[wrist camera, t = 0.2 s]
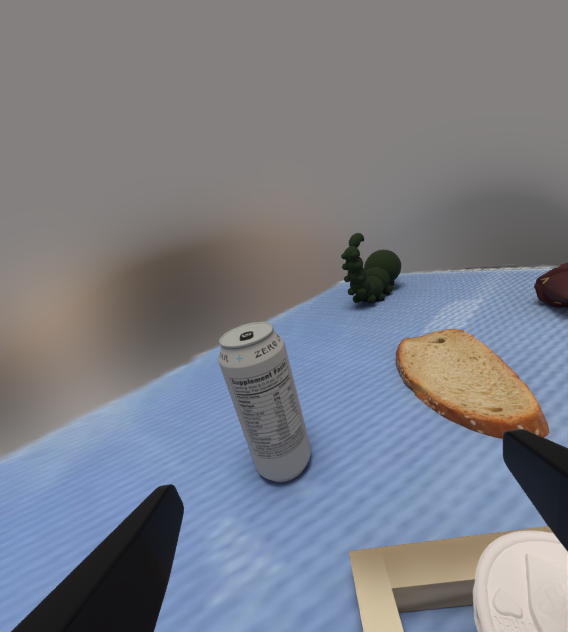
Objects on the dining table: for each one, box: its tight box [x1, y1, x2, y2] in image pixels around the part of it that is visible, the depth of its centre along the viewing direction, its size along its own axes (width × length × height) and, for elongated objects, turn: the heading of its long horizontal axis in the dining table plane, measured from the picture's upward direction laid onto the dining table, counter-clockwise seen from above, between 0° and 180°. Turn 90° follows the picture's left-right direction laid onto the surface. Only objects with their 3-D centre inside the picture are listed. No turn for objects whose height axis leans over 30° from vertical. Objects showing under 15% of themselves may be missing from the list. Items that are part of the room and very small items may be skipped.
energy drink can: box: [219, 322, 311, 482], centre depth 25 cm, size 6×6×15 cm
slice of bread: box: [396, 329, 549, 439], centre depth 34 cm, size 18×18×4 cm
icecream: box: [534, 263, 568, 307], centre depth 43 cm, size 7×7×15 cm
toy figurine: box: [341, 233, 401, 303], centre depth 68 cm, size 9×19×25 cm
